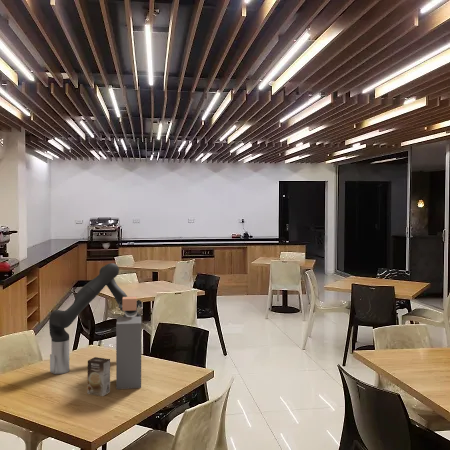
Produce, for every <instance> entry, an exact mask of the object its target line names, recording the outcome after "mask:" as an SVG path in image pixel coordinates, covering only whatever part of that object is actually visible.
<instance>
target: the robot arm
mask: <svg viewBox="0 0 450 450" xmlns="http://www.w3.org/2000/svg"><path fill="white" fill-rule="evenodd" d="M119 273H120V268H119V265H117V263H114V262H112V263H111V262H110V263H107V264H105V265H104V266H102V267H101V268H100V269H99V274H98V275H97V276H96V277H94V278H93V279H91V280H90V281H88V282H87V283H86V284H85V285H83V286H82V287H81V288H80V289H79V290H78V292H76V294H75V297H74V301H73V302H72V304H71V305H70V306H69V307H68V308H67V309H66V310H61V309H55V310H53V311H52V312H51V313H50V315H49V320H48V322H49V323H48V324H49V326H48V327H49V336H50V339H51V354H49V372H50V373H51V374H53V375H62V374H66V373H69V372H70V334H69V333H68V332H67V331H66V328H68V327H70V326H71V324H73V322H75V320H76V319H77V317H78V316H79V315H80V314H81V313H82V311H83V310H85V308H86V307H88V305H89V304H90V303H91V302H92V301H93V300H95V298H96V297H97V296H98V295H99V294H100V293H101V292H102V291H103V289H104V288H105V287H107V288H108V289H109V291H110V293H111V294H112V296H113V297H114V299H115V301H116V303H117V305H118V309H120V312H124V315H123V316H122V317H141V318H142V316H141V313H140V312H139V310H138V309H139V308H143V307H144V304H143V302H142V301H141V299H138V300H137V299H136V310H133V311H122V299H123V297H128V295H127V294H126V292H125V291H124V290H123V289H122V288H121V287H120V286H119V285H118V283H117V282H116V280H115V278H116V277H117V276H118V275H119Z"/></svg>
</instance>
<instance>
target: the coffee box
mask: <svg viewBox="0 0 450 450" xmlns="http://www.w3.org/2000/svg"><path fill="white" fill-rule="evenodd" d="M110 392H111V358H105V357H104V358H103V357H97V356H95V357H94V356H93V358H90V359H89V360H87V394H88V395H92V396H99V397H104V396H106V395H107V394H109V393H110Z"/></svg>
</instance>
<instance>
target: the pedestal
mask: <svg viewBox="0 0 450 450" xmlns="http://www.w3.org/2000/svg"><path fill="white" fill-rule="evenodd" d="M115 328H116V329H115V331H116V333H115V337H116V339H115V341H116V343H115V345H116V348H115V349H116V350H115V354H116V356H115V357H116V360H115V361H116V362H115V363H116V364H115V366H116V367H115V371H116V372H115V375H116V376H115V377H116V380H115V381H116V382H115V383H116V390H123V389H124V390H125V389H126V390H127V389H129V390H130V389H131V390H132V389H141V388H142V316H141V317H123V316H120V317H117V320H116V325H115Z"/></svg>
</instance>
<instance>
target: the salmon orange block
mask: <svg viewBox="0 0 450 450" xmlns="http://www.w3.org/2000/svg"><path fill="white" fill-rule="evenodd" d="M136 300H137V296H127V297H123V299H122V311H133V310H136ZM122 311H121V312H122Z"/></svg>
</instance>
